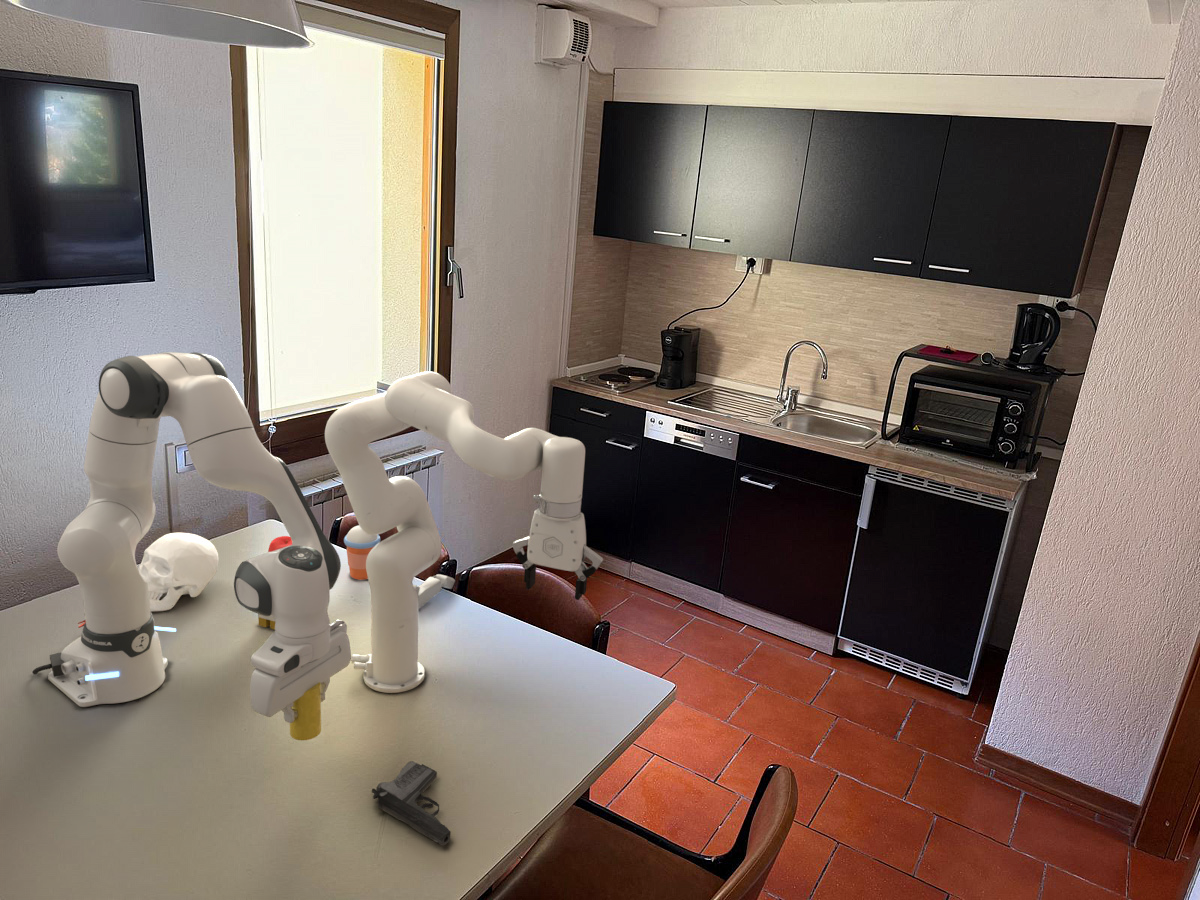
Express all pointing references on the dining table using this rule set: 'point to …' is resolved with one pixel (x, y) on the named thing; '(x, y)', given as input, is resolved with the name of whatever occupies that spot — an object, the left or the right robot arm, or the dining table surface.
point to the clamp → (432, 588)
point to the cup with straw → (359, 551)
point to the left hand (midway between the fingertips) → (304, 710)
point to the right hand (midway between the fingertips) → (554, 591)
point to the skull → (177, 568)
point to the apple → (280, 543)
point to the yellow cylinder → (307, 715)
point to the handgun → (412, 801)
